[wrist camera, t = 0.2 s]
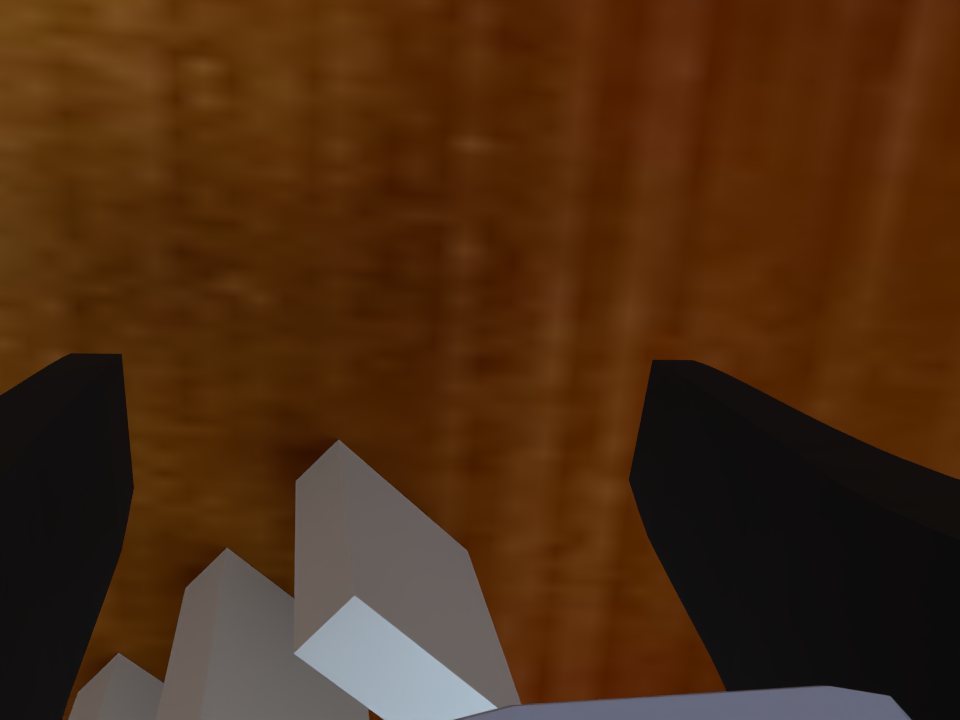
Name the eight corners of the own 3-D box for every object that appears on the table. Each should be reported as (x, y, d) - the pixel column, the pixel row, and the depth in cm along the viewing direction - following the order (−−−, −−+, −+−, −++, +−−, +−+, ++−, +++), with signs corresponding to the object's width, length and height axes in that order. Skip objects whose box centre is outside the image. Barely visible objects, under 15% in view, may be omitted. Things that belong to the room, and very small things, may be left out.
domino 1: (426, 589, 25) (475, 786, 18) (295, 481, 24) (294, 652, 16) (467, 550, 25) (532, 735, 18) (338, 439, 23) (354, 595, 16)
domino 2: (322, 687, 26) (330, 918, 19) (185, 588, 24) (137, 802, 17) (361, 649, 25) (385, 868, 18) (226, 547, 24) (196, 746, 17)
